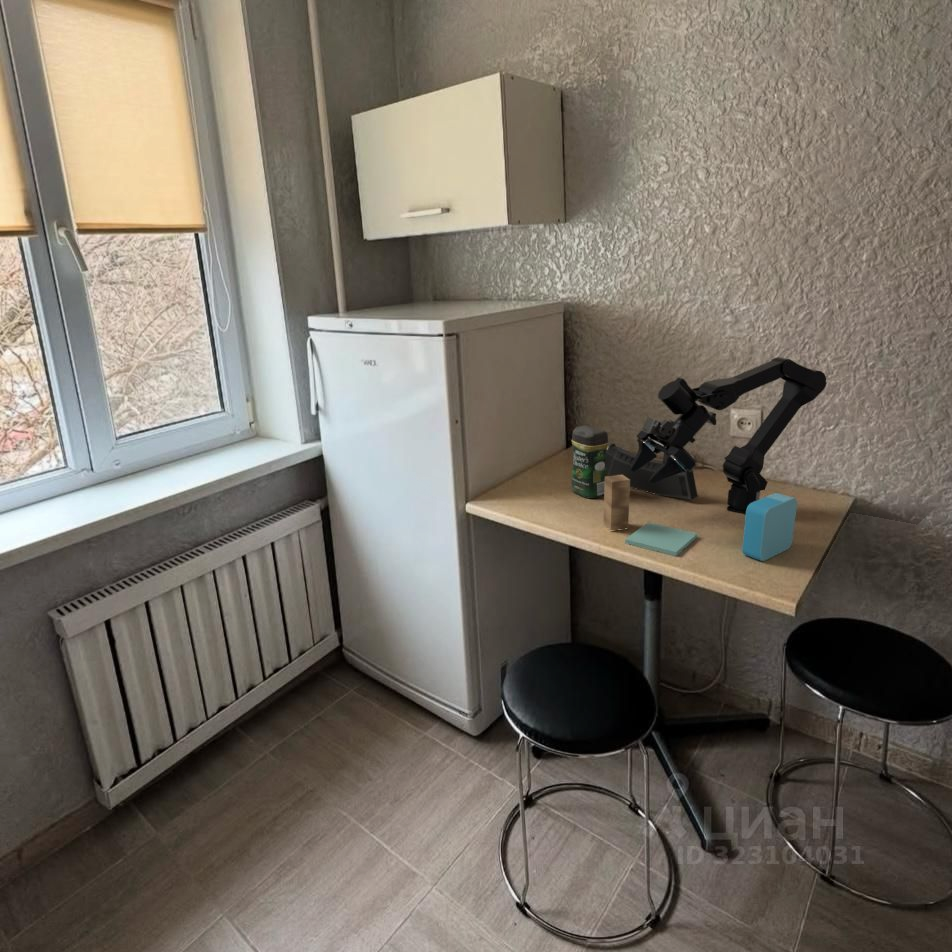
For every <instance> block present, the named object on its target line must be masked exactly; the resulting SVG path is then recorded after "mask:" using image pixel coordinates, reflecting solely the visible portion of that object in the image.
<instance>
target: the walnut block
mask: <svg viewBox="0 0 952 952" xmlns="http://www.w3.org/2000/svg"><path fill="white" fill-rule="evenodd" d="M630 491H631V487H630V479H628V478H627V477H625V476H624V475H615V476H606V477H605V489H604V495H603V526H604V525H605V526H606V527H607V528H609V530H618V529H625V528H628V529H629V520H630V519H629V517H630V495H631V494H630ZM605 526H604V527H605ZM606 527H605V528H606ZM607 528H606V529H607ZM609 530H608V531H609Z"/></svg>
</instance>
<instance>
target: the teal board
mask: <svg viewBox="0 0 952 952" xmlns="http://www.w3.org/2000/svg"><path fill="white" fill-rule="evenodd" d="M697 538H698V533H697V532H693V531H688V530H684V529H680V528H676V527H672V526H667V525H664V524H663V525H662V524H659V523H654V522H649V521H648V522H646V523H645V524H643V525H642V526H641V527H639V528H638V529H637V530H635V531H634V532H632V534H630V535H628V537H626V538H625V539H624V541H625V542H624V544H626V543H628V544H627V545H630V544H631V546H634V545H635V547H638V546H639V548H641V549H642V548H643V549H645V548H647V549H646V550H649V549H650V550H651V551H653V550H654V552H657V551H659V552H658V553H661V552H662V554H665V555H669V556H672V555H673V556H672V557H677V556H678V555H679V554H681V552H683V551H682V550H683V549H684V548H685V549H686V548H688V546H689V545H690V544H691V543H692V541H693V542H694V541H695V540H696V539H697ZM685 549H684V550H685ZM650 550H649V551H650Z"/></svg>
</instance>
